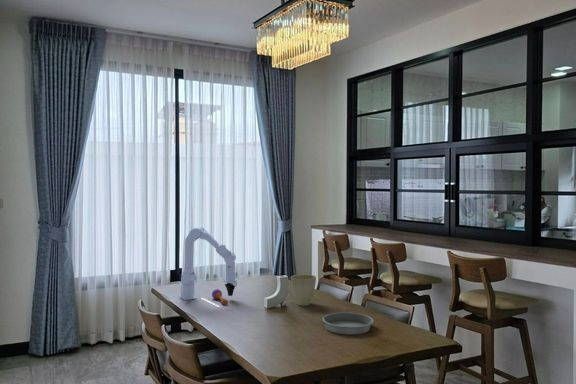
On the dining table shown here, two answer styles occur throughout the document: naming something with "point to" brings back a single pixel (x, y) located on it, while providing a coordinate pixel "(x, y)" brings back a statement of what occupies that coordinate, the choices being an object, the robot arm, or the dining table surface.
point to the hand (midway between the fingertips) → (230, 295)
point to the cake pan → (347, 323)
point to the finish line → (210, 302)
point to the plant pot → (303, 288)
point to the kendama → (219, 296)
